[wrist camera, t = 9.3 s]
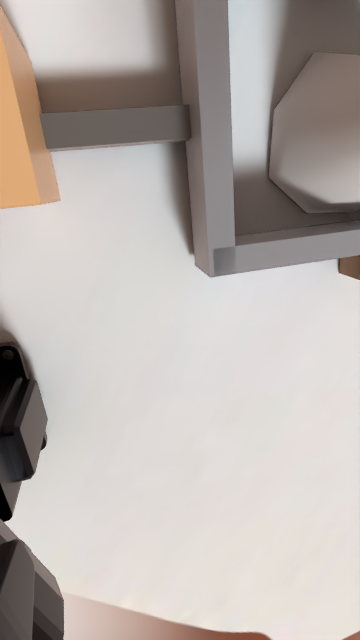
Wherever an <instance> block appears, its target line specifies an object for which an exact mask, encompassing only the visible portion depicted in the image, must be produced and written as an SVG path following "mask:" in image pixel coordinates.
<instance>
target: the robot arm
mask: <svg viewBox="0 0 360 640" xmlns="http://www.w3.org/2000/svg"><path fill="white" fill-rule="evenodd" d="M6 350H10V351H12V352H13V353H14V355H13V356H8V355H7V354H6V353H5V351H6ZM47 420H48V419H47V415H46V412H45V408H44V405H43V401H42V398H41V394H40V391H39V387H38V384H37V381H35V380H34V379H33V378H29V375H28V371H27V368H26V364H25V361H24V358H23V354H22V351H21V349H20V347H19V346H18V345H17V344H15V343H13V342H6V343H0V640H63V635H64V602H63V601H64V600H63V597H62V595H61V592H60V589H59V586H58V584H57V581H56V578H55V577H54V576H53V575H52V574H51V573H50V571H49V570H48V569H47V568H46V567H45V566H44V565H43V564H42V563H41V562H40V561H39V560H38V559H37V558H36V556H35V555H34V554H33V553H32V552H31V549H30V548H29V547H28V546H27V545H26V544H25V543H24V542H23V541H22V540H20V539H19V538H18V537H17V536H16V535H15V534H14V533H13V532H12V531H11V530H10V529H9V527H8V526H7V525H6V524H5V523H4V522H5V521H8V520H10V519H11V518H12V516H13V512H14V508H15V505H16V501H17V497H18V494H19V490H20V486H21V483H22V481H24V480H28V479H31V478H32V476H33V475H34V474H35V471H36V467H37V463H38V458H39V454H40V450H42V449H44V448H45V446H46V443H47V435H46V432H45V429H46V425H47Z"/></svg>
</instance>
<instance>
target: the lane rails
mask: <svg viewBox="0 0 360 640" xmlns="http://www.w3.org/2000/svg"><path fill="white" fill-rule="evenodd" d="M339 273H341V274H344V275H347V276H350V277H353V278H355V279H358V280H360V255H358V256H351V257H344V258H340V267H339Z"/></svg>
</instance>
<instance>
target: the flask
mask: <svg viewBox="0 0 360 640" xmlns="http://www.w3.org/2000/svg"><path fill="white" fill-rule="evenodd" d="M269 178H270V179H271V180H272V181H273V182H274V183H275V184H276V185H277V186H278V187H279V188H280V189H281V190H282V191H284V192H285V193H286V194H287V195H288V196H289V197H290V198H291V199H292V200H293V201H294V202H295V203H296V204H297V205H299V206H300V207H301V208H302V209H303V210H304V211H305V212H306V213H335V212H356V211H358V210H360V55H355V54H341V53H325V52H314V53H313V54H312V56H311V57H310V59H309V60H308V62H307V63H306V64H305V66H304V67H303V69H302V70H301V72H300V73H299V75H298V76H297V78H296V79H295V80H294V82H293V83H292V85H291V86H290V88H289V89H288V91H287V92H286V93H285V95H284V96H283V98H282V99H281V101H280V102H279V104H278V105H277V107H276V108H275V109H274V115H273V128H272V142H271V155H270V169H269Z"/></svg>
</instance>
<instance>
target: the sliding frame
mask: <svg viewBox="0 0 360 640" xmlns="http://www.w3.org/2000/svg"><path fill="white" fill-rule="evenodd" d="M175 9H176V22H177V35H178V48H179V61H180V74H181V88H182V101H183V105H171V106H155V107H139V108H122V109H106V110H90V111H73V112H57V113H42V109H41V105H40V100H39V95H38V90H37V86H36V81H35V76H34V71H33V67H32V62H31V60H30V59H29V57H28V55H27V53H26V51H25V49H24V48H23V46H22V44H21V42H20V40H19V38H18V37H17V35H16V33H15V31H14V29H13V27H12V26H11V24H10V22H9V20H8V18H7V16H6V15H5V13H4V11H3V9H2V7H1V6H0V209H4V208H13V207H23V206H33V205H42V204H46V203H51V202H55V201H60V200H61V199H60V195H59V190H58V185H57V180H56V176H55V171H54V166H53V161H52V157H51V152H56V151H68V150H81V149H94V148H106V147H119V146H131V145H144V144H157V143H169V142H182V141H186V153H187V166H188V179H189V192H190V205H191V218H192V231H193V244H194V257H195V266H197V267H198V268H199V269H200V270H202V271H203V272H204V273H205V274H207V275H208V276H209V277H216V276H222V275H229V274H236V273H243V272H250V271H256V270H263V269H270V268H277V267H283V266H290V265H297V264H304V263H310V262H317V261H324V260H331V259H337V258H344V257H351V256H358V255H360V220H356V221H348V222H340V223H332V224H325V225H317V226H309V227H301V228H294V229H286V230H278V231H270V232H263V233H255V234H247V235H239V236H235V220H234V188H233V156H232V125H231V93H230V61H229V29H228V0H175Z"/></svg>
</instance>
